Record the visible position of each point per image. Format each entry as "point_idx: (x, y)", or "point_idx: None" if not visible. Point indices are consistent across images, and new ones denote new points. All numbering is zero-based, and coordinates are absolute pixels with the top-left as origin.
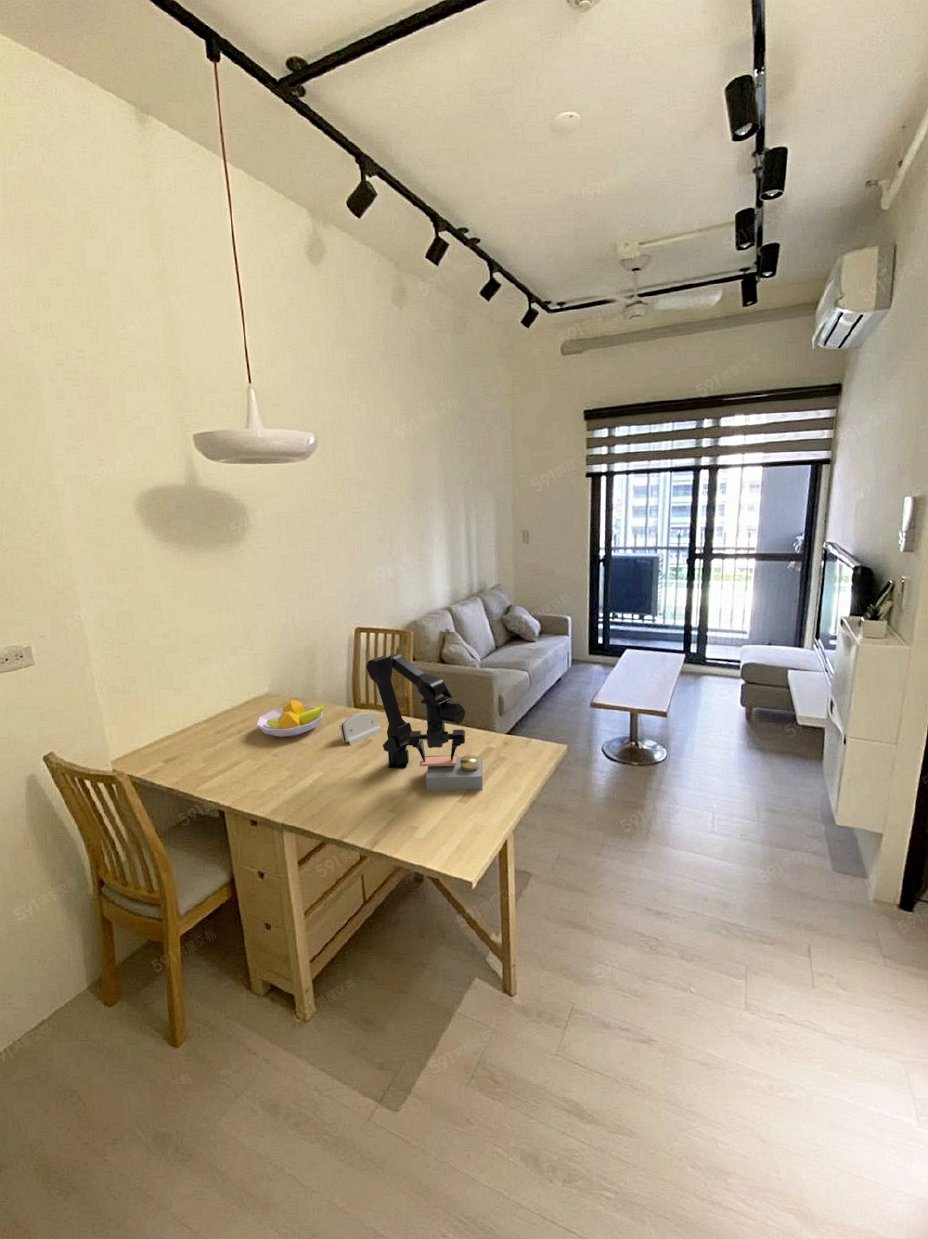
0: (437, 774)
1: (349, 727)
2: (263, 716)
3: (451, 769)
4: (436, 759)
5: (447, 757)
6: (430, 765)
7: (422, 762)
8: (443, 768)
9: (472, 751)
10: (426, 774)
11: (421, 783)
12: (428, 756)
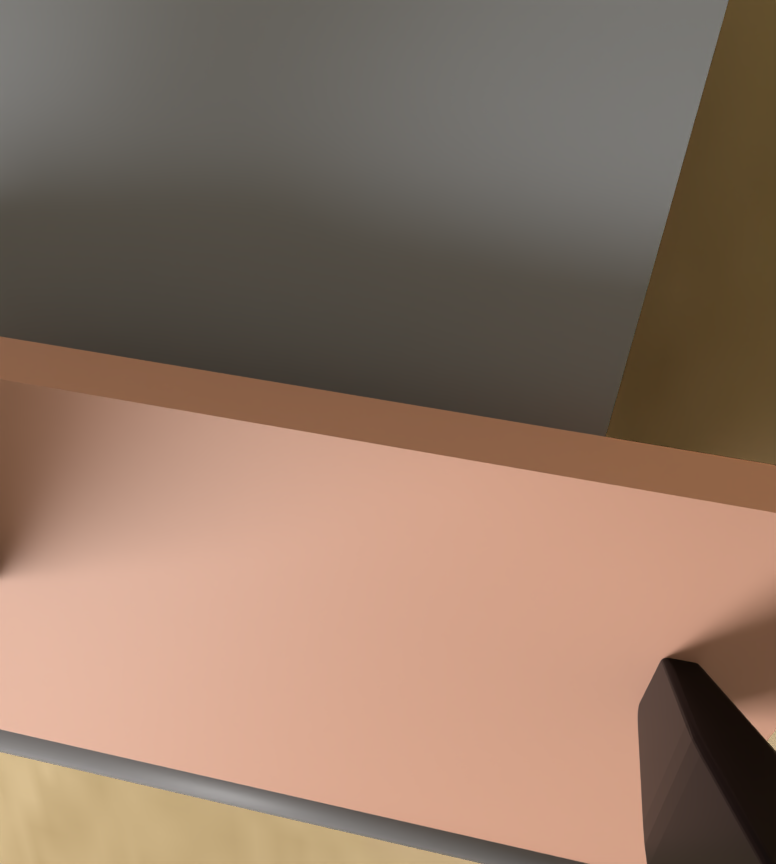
0: (353, 82)
1: None
2: None
3: (22, 303)
4: (347, 693)
5: (123, 714)
6: (526, 440)
7: (758, 628)
8: None
9: (27, 850)
10: (688, 139)
11: (716, 292)
12: (522, 855)
